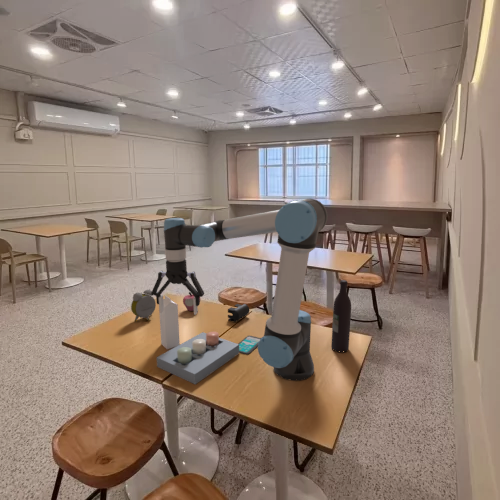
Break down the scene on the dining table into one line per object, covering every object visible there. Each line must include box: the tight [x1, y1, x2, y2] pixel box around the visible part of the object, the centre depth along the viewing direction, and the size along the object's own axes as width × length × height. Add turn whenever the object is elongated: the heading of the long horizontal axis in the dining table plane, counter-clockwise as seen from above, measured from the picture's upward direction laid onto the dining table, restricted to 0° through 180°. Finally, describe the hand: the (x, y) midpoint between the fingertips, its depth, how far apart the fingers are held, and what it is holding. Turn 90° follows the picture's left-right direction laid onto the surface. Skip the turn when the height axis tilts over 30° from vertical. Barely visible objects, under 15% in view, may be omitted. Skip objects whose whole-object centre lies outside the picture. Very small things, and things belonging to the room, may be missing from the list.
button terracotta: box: [206, 331, 220, 346], centre depth 139 cm, size 5×5×4 cm
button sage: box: [177, 347, 192, 364], centre depth 127 cm, size 5×5×4 cm
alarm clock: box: [130, 288, 157, 322], centre depth 171 cm, size 12×7×15 cm, turn 141°
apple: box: [182, 291, 201, 312], centre depth 184 cm, size 10×9×10 cm
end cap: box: [227, 303, 250, 323], centre depth 173 cm, size 10×7×7 cm
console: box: [156, 331, 240, 385], centre depth 134 cm, size 20×26×4 cm
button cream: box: [192, 339, 206, 355], centre depth 133 cm, size 5×5×4 cm
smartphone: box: [237, 335, 262, 356], centre depth 146 cm, size 9×1×15 cm
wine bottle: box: [330, 279, 352, 353], centre depth 139 cm, size 7×7×30 cm
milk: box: [159, 294, 181, 350], centre depth 144 cm, size 6×6×22 cm
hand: (178, 312), depth 131 cm, fingers open, 13 cm apart
